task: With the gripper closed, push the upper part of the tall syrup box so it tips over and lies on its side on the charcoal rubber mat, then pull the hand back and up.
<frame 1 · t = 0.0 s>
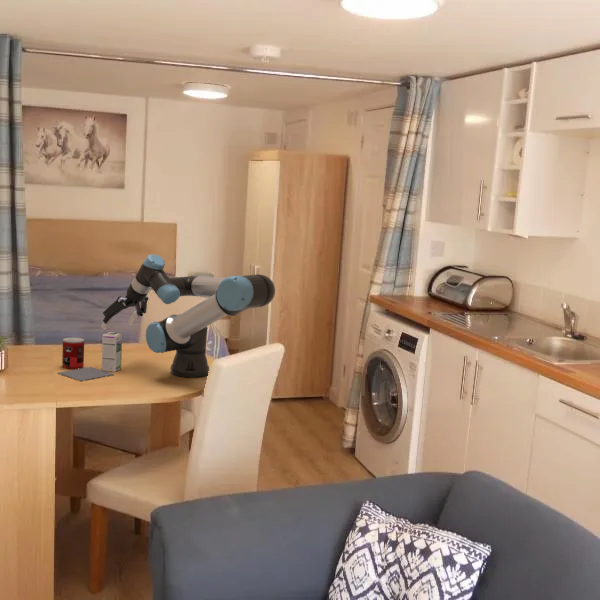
hand: (116, 326, 295), 15 cm above the table, tool tilted 35°, fingers open, 13 cm apart
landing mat: (85, 374, 277), on the table
canned food: (72, 367, 287), on the table
syrup box: (111, 370, 287), on the table
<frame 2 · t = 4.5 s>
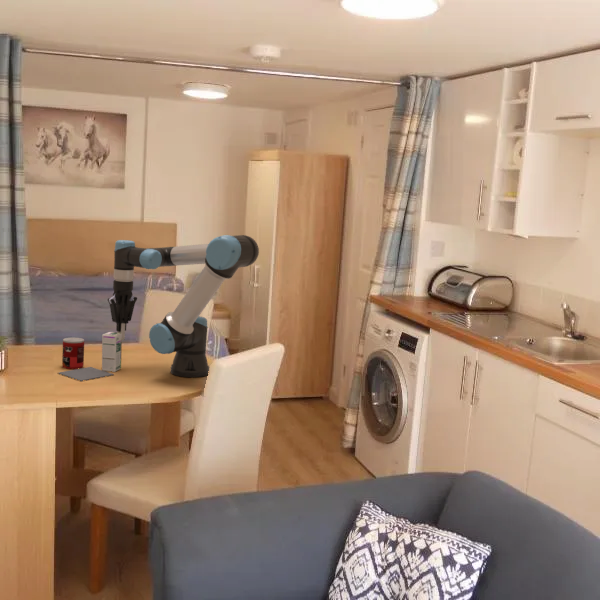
hand: (120, 339, 289), 12 cm above the table, tool pointing down, fingers closed
syrup box: (111, 370, 287), on the table, touching gripper
everything else where it was.
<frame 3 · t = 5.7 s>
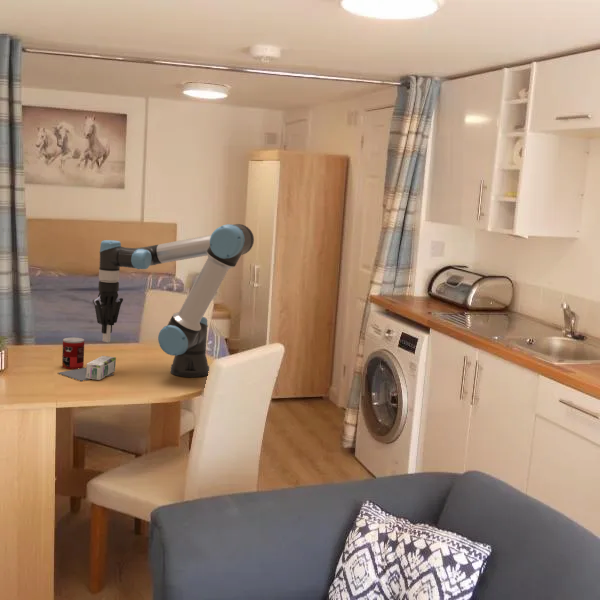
hand: (106, 341, 283), 12 cm above the table, tool pointing down, fingers closed
syrup box: (108, 363, 284), point 3 cm above the table, touching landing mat
everything else where it was.
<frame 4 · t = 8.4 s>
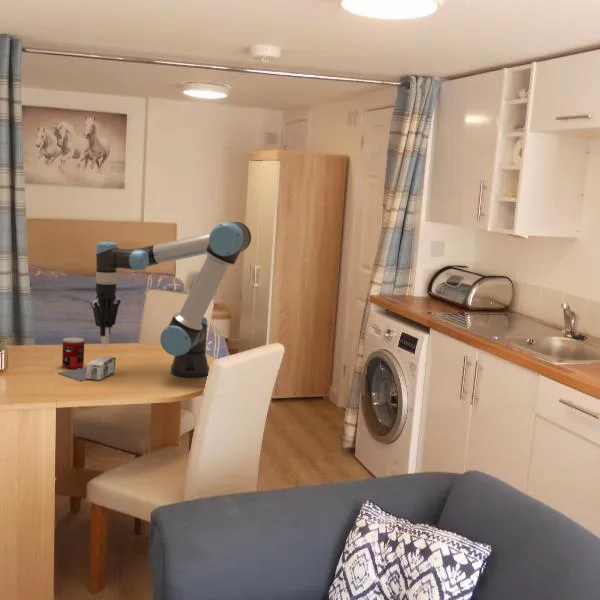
hand: (105, 343, 282), 11 cm above the table, tool pointing down, fingers closed
nothing on the table moved.
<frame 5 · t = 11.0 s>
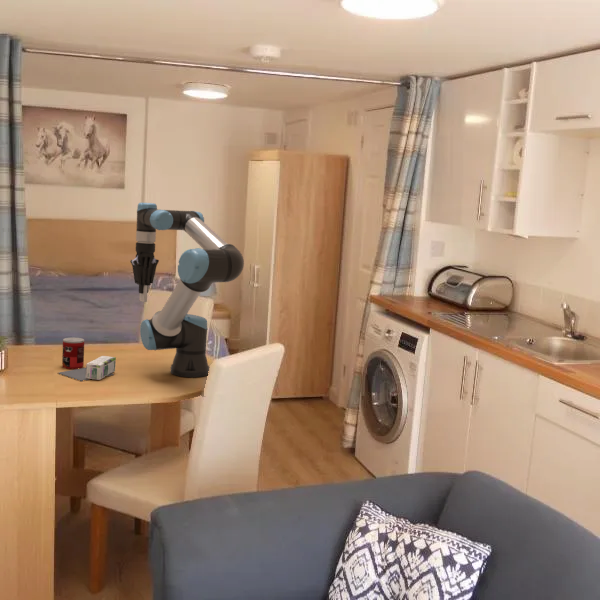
hand: (143, 301, 292), 26 cm above the table, tool pointing down, fingers closed
nothing on the table moved.
at the end: syrup box tilted 90°; syrup box inside the target area (8.6 cm from its centre), point 3.2 cm above the table; syrup box touching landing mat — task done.
